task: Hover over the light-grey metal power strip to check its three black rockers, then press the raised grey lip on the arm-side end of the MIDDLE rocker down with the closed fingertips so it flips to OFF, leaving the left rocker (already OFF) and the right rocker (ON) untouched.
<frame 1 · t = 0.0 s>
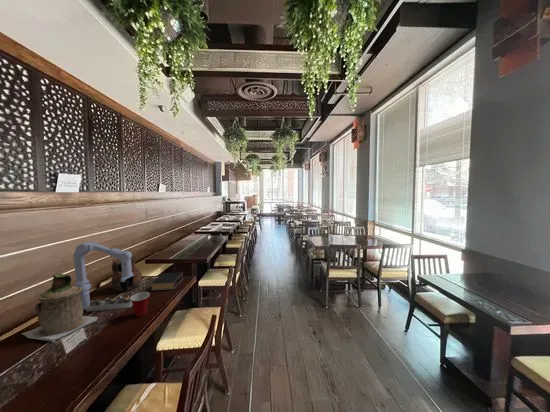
hand: (127, 288, 166), 10 cm above the table, fingers open, 7 cm apart
power strip: (111, 307, 161), on the table
rocker 2: (110, 300, 160), point 5 cm above the table, hinge at 14.0°
rocker 1: (95, 301, 158), point 5 cm above the table, hinge at -14.0°
book: (168, 285, 200), on the table
rocker 3: (124, 299, 161), point 5 cm above the table, hinge at 14.0°
jug: (127, 288, 195), on the table
plastic cup: (141, 314, 150), on the table
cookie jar: (62, 328, 136), on the table
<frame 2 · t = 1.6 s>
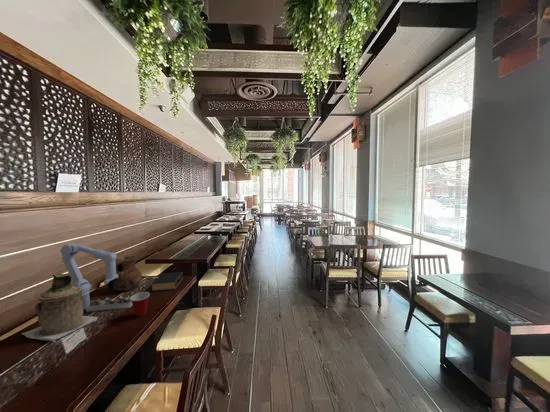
hand: (112, 290, 163), 10 cm above the table, fingers closed
nothing on the table moved.
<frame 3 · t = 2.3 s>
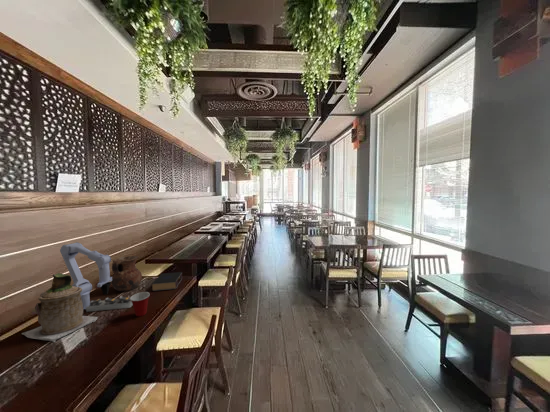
hand: (105, 294, 159), 10 cm above the table, fingers closed
nothing on the table moved.
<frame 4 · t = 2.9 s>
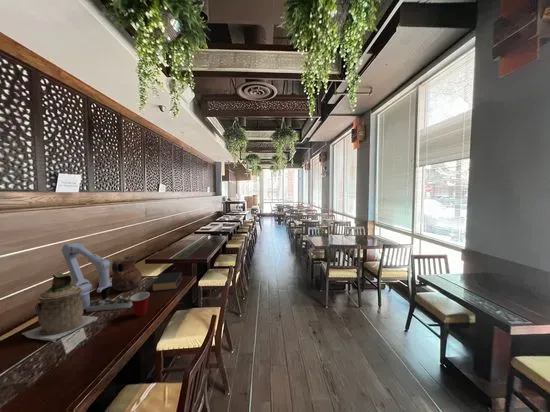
hand: (105, 299, 159), 6 cm above the table, fingers closed, pressing on rocker 2
rocker 2: (110, 300, 160), point 5 cm above the table, hinge at 13.5°, touching gripper
everything else where it was.
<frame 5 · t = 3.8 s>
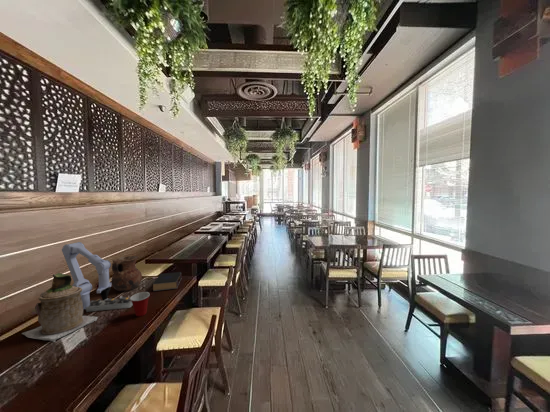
hand: (104, 299, 159), 6 cm above the table, fingers closed, pressing on rocker 2
rocker 2: (110, 300, 160), point 5 cm above the table, hinge at 5.1°, touching gripper
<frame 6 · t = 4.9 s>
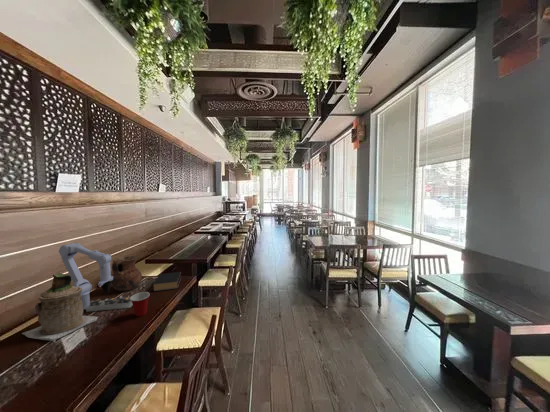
hand: (106, 292, 160), 10 cm above the table, fingers closed
rocker 2: (109, 300, 160), point 5 cm above the table, hinge at -3.5°
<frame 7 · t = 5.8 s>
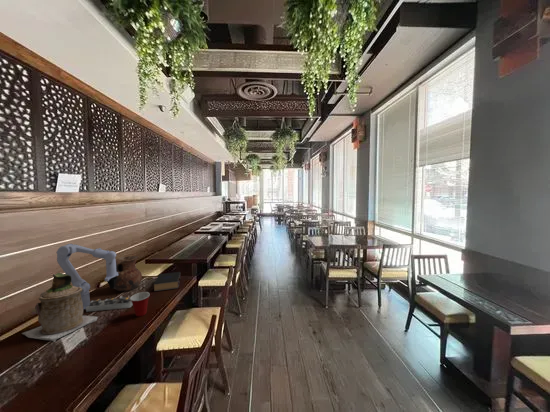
hand: (112, 288, 167), 10 cm above the table, fingers closed
rocker 2: (109, 300, 160), point 5 cm above the table, hinge at -8.0°
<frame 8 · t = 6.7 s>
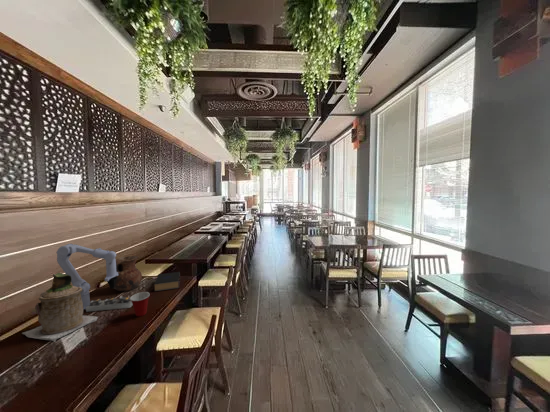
hand: (112, 288, 167), 10 cm above the table, fingers closed
rocker 2: (109, 300, 160), point 5 cm above the table, hinge at -11.3°
at the end: rocker 2 at -11° (first picture: +14°); rocker 1 at -14° (first picture: -14°); rocker 3 at +14° (first picture: +14°) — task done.
